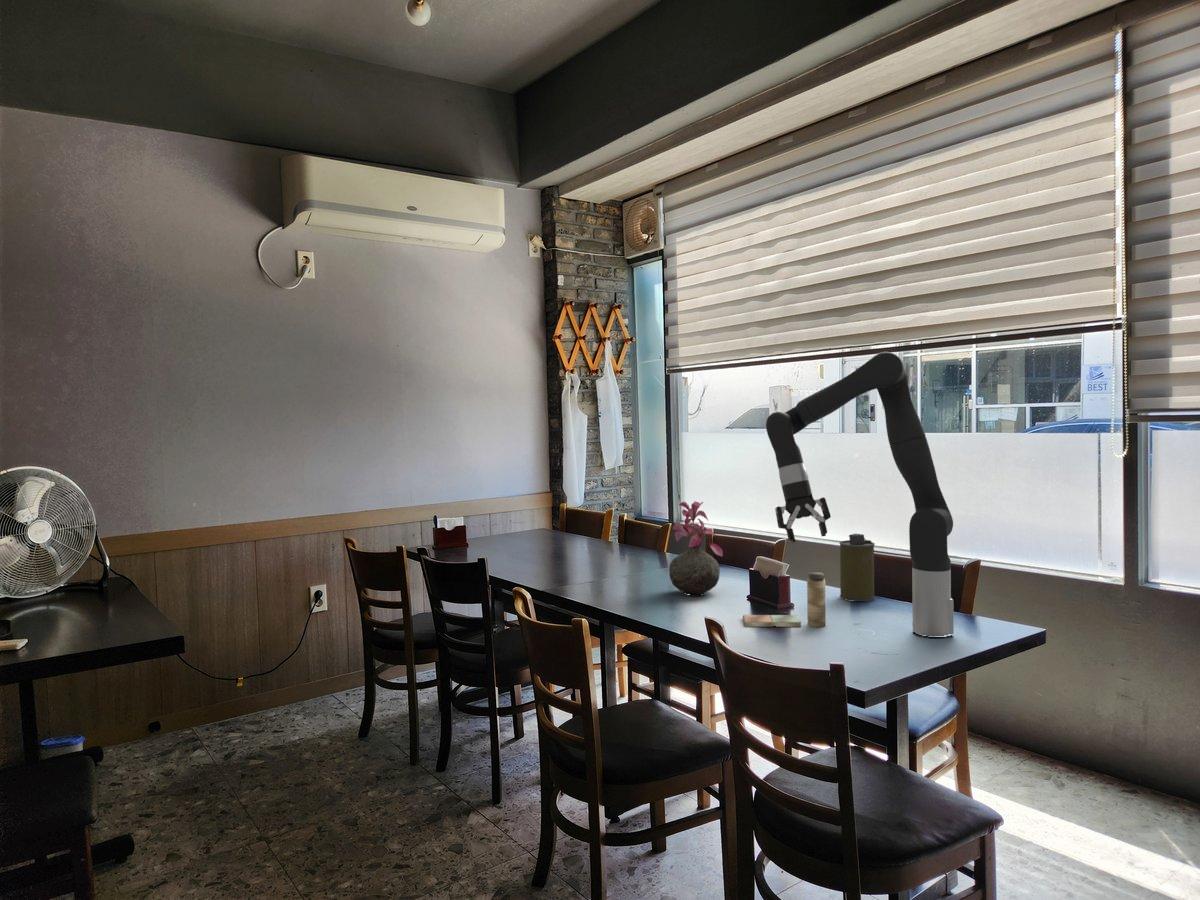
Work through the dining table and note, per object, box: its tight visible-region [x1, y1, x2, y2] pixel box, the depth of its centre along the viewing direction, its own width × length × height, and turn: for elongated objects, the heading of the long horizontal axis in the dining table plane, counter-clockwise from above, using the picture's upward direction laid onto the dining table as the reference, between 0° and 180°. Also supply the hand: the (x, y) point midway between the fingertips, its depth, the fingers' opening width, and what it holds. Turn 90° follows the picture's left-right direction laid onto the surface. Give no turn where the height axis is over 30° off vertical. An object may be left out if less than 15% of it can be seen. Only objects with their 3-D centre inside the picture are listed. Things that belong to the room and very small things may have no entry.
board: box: [742, 614, 802, 628], centre depth 220 cm, size 15×8×1 cm, turn 84°
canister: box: [839, 533, 875, 602], centre depth 246 cm, size 11×10×20 cm
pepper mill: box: [806, 571, 827, 628], centre depth 216 cm, size 5×5×14 cm
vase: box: [668, 501, 724, 595], centre depth 256 cm, size 17×17×30 cm
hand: (808, 539), depth 217 cm, fingers open, 8 cm apart
